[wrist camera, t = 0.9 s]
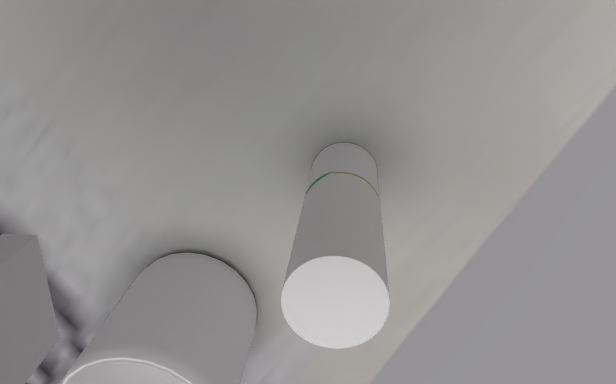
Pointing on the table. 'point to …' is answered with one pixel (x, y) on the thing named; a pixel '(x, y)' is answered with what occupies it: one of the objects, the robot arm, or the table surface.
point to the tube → (338, 253)
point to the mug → (174, 327)
